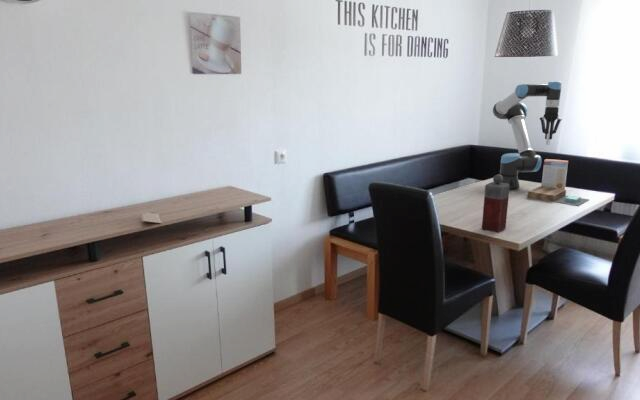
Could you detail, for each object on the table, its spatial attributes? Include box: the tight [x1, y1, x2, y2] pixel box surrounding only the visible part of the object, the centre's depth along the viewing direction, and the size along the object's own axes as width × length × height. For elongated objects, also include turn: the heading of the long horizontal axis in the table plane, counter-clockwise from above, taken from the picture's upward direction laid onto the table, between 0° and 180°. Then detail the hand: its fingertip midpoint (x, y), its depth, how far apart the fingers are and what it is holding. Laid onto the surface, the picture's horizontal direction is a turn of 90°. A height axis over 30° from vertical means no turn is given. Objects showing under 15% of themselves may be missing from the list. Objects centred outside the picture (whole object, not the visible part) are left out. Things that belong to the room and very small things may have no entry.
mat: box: [553, 195, 590, 207], centre depth 294 cm, size 14×20×1 cm
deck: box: [527, 186, 567, 203], centre depth 303 cm, size 16×20×4 cm
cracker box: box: [540, 158, 569, 190], centre depth 316 cm, size 14×6×21 cm, turn 58°
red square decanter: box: [481, 173, 510, 234], centre depth 239 cm, size 9×11×28 cm
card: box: [565, 195, 582, 203], centre depth 293 cm, size 6×9×2 cm, turn 135°
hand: (547, 144), depth 303 cm, fingers closed
